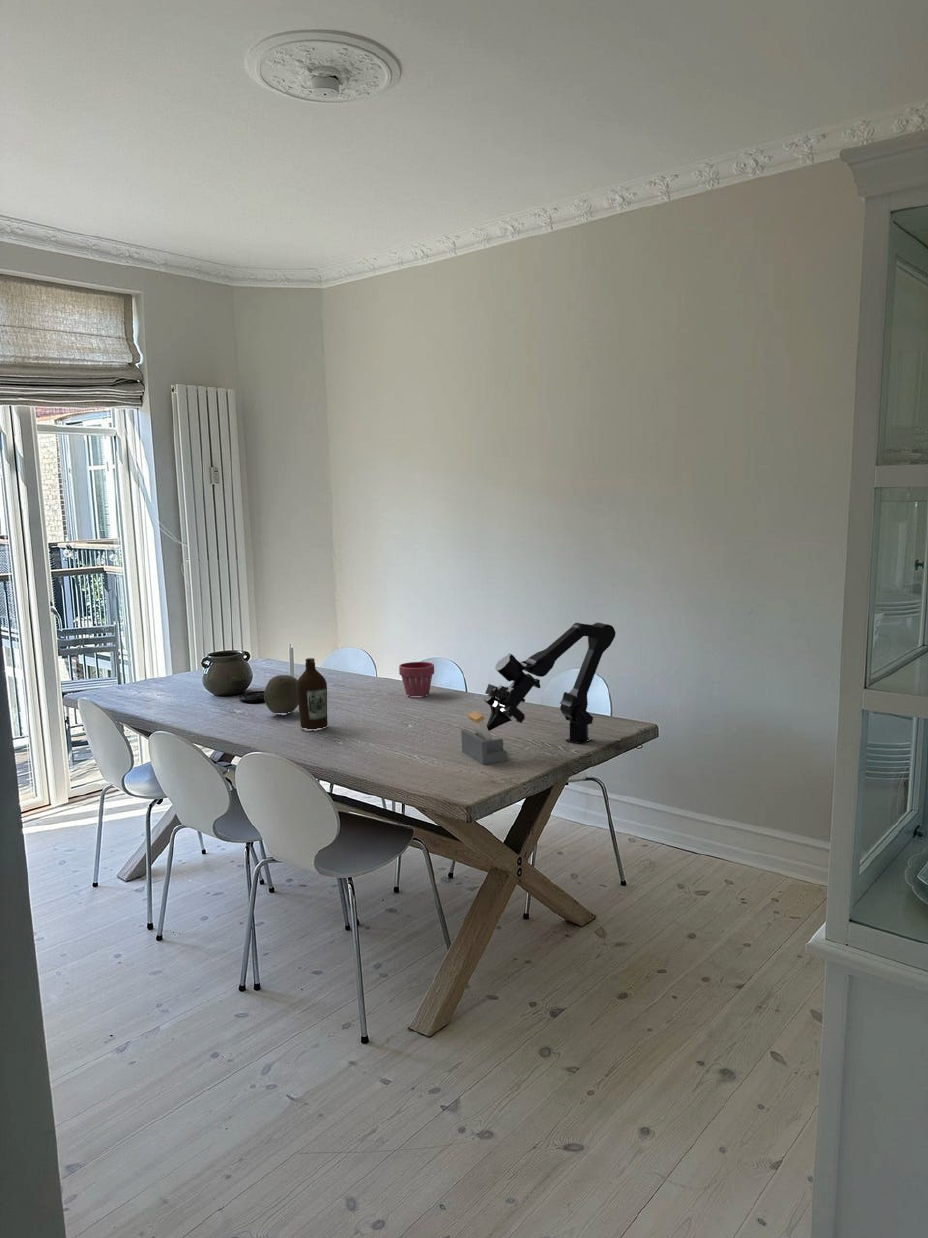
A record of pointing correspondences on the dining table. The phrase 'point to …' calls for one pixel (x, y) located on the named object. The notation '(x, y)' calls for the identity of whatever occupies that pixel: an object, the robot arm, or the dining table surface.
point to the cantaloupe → (281, 694)
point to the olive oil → (312, 697)
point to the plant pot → (416, 677)
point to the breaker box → (482, 748)
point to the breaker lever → (480, 725)
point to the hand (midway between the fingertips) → (486, 730)
